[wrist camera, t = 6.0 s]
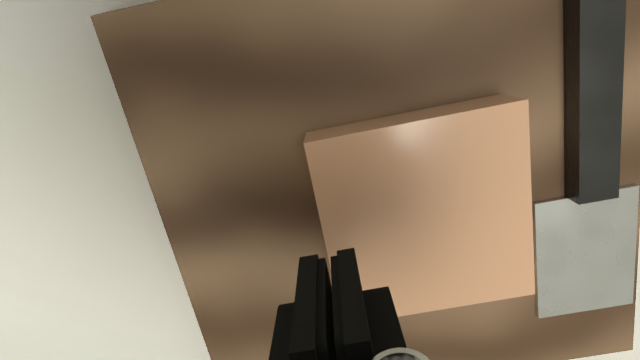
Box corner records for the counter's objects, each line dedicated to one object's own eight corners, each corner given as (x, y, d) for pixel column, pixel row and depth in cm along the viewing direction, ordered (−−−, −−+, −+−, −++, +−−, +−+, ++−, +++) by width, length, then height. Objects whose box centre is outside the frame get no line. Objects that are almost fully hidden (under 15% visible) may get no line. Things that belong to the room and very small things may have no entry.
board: (107, 19, 16) (90, 16, 15) (631, -99, 14) (658, -113, 13) (234, 392, 22) (229, 411, 20) (615, 333, 20) (632, 349, 19)
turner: (521, -82, 14) (537, -93, 13) (649, -111, 13) (675, -124, 12) (536, 315, 18) (547, 329, 18) (629, 300, 18) (646, 313, 17)
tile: (303, 143, 14) (528, 99, 13) (305, 132, 16) (499, 93, 15) (343, 325, 16) (535, 294, 16) (340, 294, 18) (509, 265, 18)
